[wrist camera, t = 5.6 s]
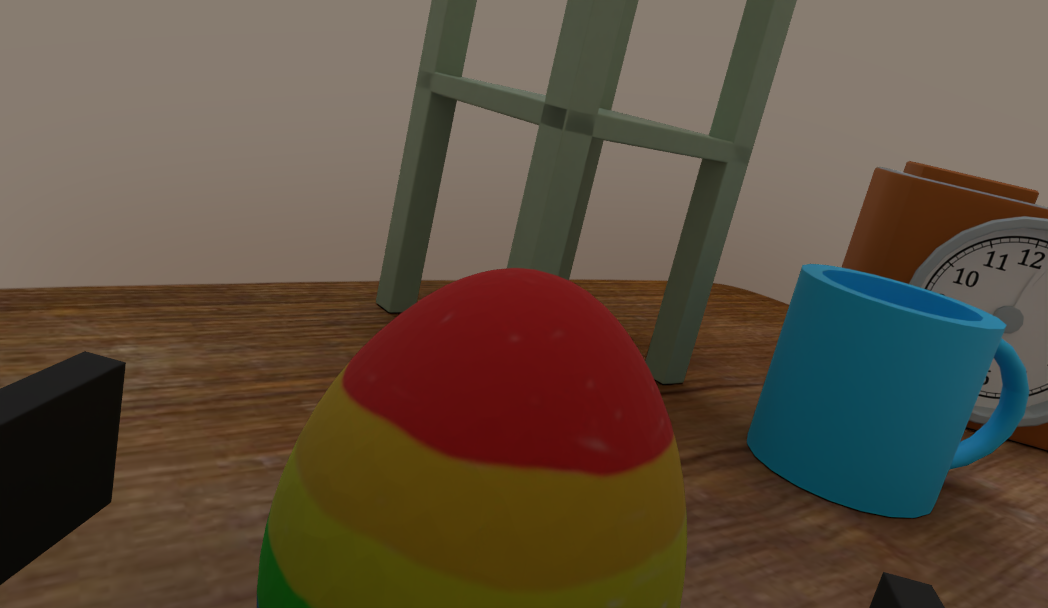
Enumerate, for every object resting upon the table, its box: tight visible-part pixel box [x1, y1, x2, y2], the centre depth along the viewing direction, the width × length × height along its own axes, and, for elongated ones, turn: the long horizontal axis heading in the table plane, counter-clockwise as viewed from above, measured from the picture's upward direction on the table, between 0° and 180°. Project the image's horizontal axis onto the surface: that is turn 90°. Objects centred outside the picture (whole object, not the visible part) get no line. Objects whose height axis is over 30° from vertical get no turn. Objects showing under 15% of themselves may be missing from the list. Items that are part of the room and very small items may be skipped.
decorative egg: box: [257, 268, 687, 608], centre depth 16 cm, size 8×8×10 cm
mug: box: [747, 264, 1029, 518], centre depth 36 cm, size 12×8×8 cm
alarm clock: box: [842, 161, 1048, 451], centre depth 49 cm, size 15×8×14 cm, turn 76°
